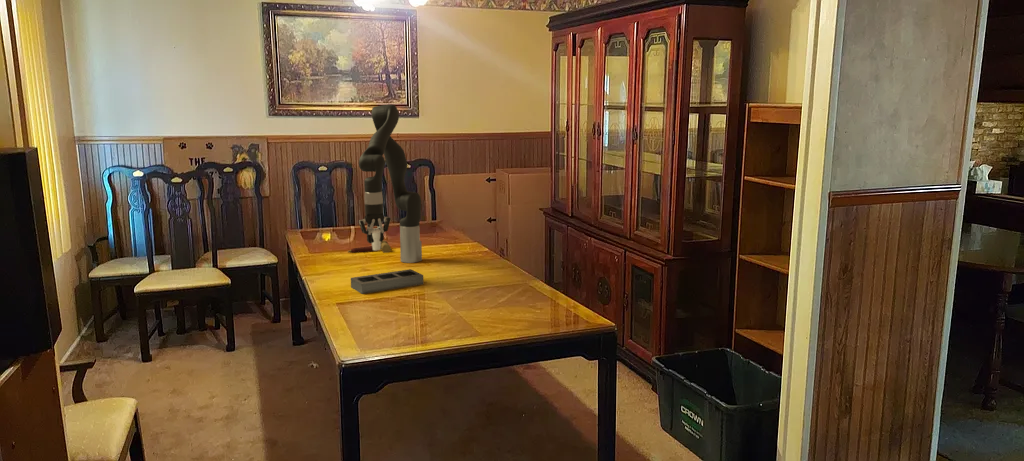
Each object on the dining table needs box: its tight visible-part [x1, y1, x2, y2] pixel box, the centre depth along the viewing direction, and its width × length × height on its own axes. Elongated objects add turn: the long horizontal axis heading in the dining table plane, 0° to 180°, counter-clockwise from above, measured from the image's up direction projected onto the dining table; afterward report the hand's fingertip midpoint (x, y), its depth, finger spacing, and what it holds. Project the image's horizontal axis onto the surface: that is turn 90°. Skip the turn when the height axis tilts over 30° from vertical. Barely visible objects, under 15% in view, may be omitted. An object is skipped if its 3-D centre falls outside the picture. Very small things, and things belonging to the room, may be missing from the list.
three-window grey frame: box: [350, 268, 424, 295], centre depth 289 cm, size 27×12×4 cm, turn 124°
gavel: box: [347, 240, 392, 254], centre depth 354 cm, size 21×5×10 cm
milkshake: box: [371, 227, 381, 252], centre depth 296 cm, size 4×5×10 cm
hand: (375, 242), depth 296 cm, fingers closed on milkshake, 4 cm apart
